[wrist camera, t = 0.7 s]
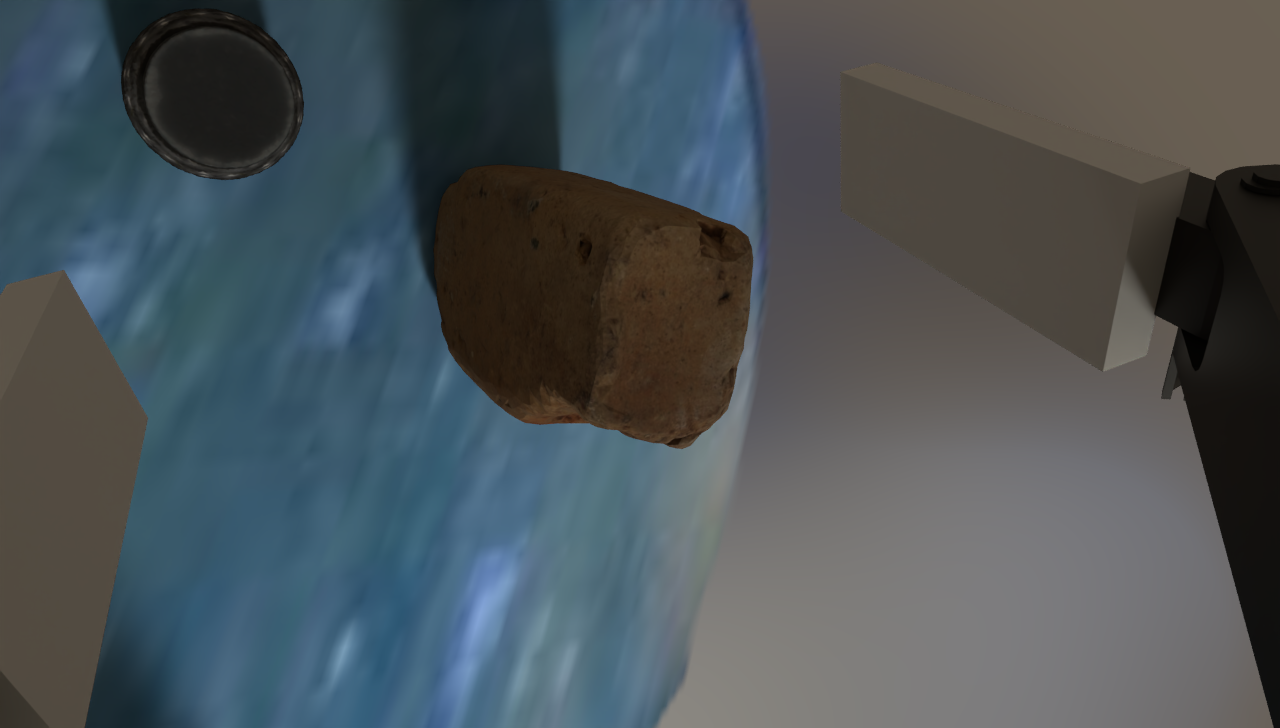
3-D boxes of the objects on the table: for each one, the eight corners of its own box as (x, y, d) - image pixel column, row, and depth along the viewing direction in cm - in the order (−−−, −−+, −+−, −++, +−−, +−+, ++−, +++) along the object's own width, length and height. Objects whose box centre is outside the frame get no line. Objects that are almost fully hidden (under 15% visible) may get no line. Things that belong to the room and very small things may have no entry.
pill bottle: (92, 83, 36) (68, 85, 27) (200, -12, 37) (213, -42, 28) (213, 190, 39) (228, 225, 30) (310, 101, 40) (353, 108, 31)
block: (440, 146, 44) (612, 191, 27) (573, 170, 47) (796, 222, 31) (414, 350, 46) (557, 507, 29) (542, 357, 50) (734, 500, 33)
